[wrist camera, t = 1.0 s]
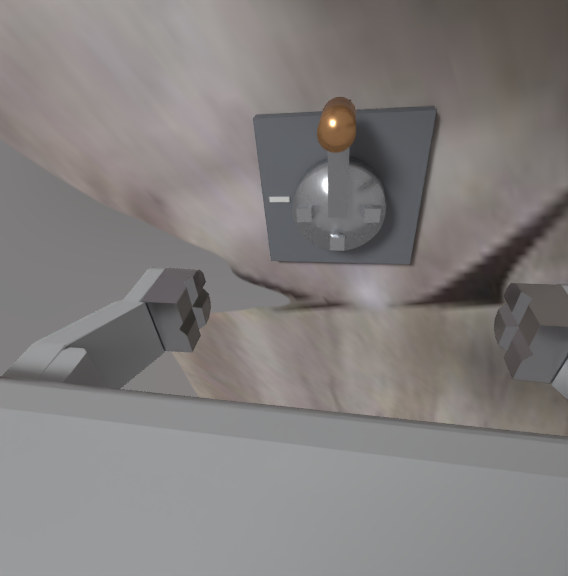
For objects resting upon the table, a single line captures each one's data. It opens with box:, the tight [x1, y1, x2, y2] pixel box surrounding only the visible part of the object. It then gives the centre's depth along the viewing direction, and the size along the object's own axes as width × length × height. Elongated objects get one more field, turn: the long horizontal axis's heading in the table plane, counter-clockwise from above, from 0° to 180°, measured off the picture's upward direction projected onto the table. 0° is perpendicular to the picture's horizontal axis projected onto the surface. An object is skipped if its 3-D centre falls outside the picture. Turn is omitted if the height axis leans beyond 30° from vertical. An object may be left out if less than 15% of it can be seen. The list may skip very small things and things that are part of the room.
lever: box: [292, 97, 386, 251], centre depth 35 cm, size 16×10×9 cm, turn 5°
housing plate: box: [253, 106, 436, 264], centre depth 42 cm, size 18×18×2 cm
